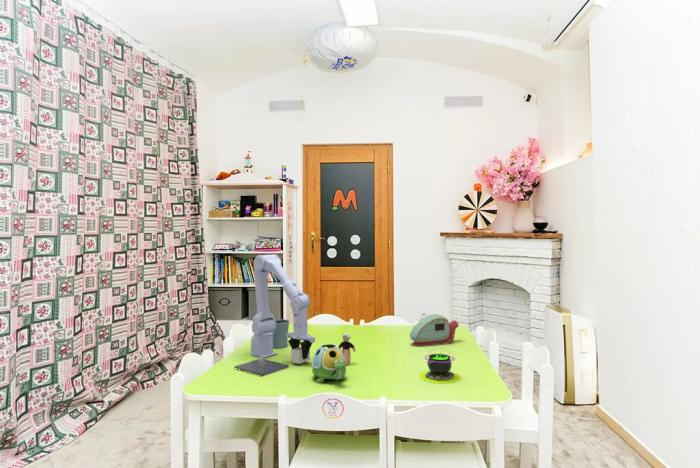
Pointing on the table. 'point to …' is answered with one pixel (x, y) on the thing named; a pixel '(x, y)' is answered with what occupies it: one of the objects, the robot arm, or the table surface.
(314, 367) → the turtle holder
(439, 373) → the toy cauldron
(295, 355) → the duct sleeve
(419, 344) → the toy snail
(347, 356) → the grandmother figurine
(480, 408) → the table surface
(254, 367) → the duct plate
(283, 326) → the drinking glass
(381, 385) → the table surface
